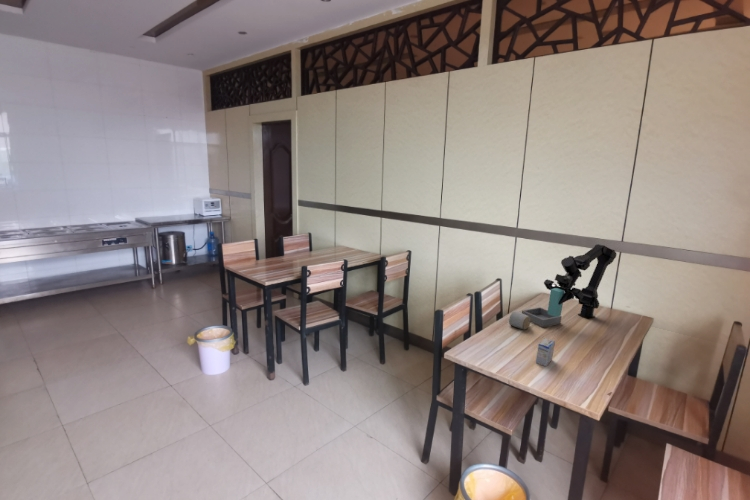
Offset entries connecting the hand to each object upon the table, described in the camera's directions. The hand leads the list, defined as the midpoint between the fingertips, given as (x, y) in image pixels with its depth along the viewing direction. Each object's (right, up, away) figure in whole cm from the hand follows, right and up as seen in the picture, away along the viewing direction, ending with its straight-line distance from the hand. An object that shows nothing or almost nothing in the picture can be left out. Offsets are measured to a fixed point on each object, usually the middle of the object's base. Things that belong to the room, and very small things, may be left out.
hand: (554, 302), depth 194 cm
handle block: (+1, -6, +2) cm, 7 cm away
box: (-2, -11, +12) cm, 16 cm away
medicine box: (-19, -20, -32) cm, 42 cm away
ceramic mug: (-16, -13, +3) cm, 21 cm away
